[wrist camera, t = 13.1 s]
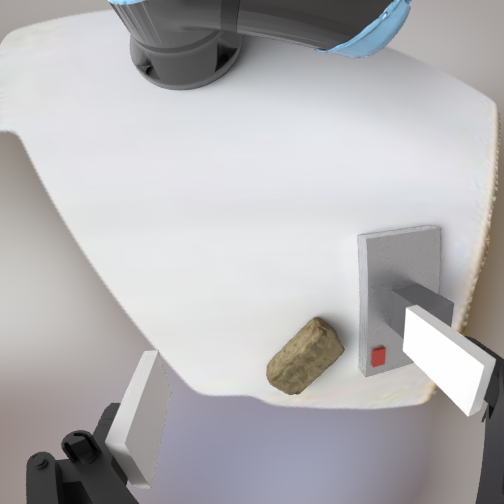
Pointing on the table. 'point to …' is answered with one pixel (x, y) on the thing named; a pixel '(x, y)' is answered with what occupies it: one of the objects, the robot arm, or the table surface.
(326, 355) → the stone block
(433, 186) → the table surface
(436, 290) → the socket plate
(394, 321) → the plug
